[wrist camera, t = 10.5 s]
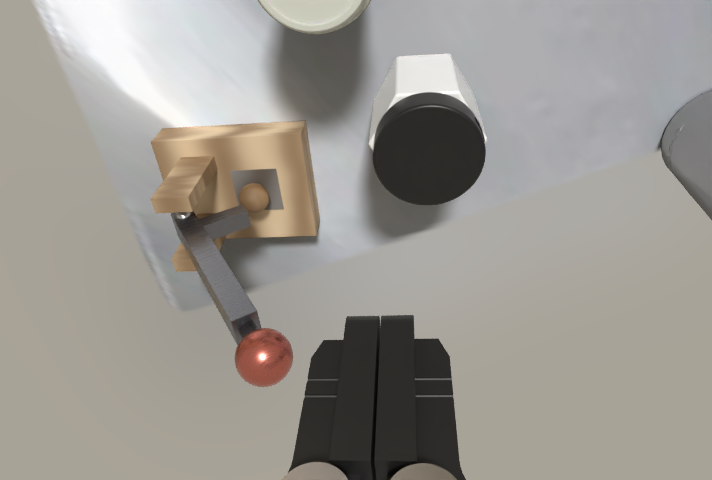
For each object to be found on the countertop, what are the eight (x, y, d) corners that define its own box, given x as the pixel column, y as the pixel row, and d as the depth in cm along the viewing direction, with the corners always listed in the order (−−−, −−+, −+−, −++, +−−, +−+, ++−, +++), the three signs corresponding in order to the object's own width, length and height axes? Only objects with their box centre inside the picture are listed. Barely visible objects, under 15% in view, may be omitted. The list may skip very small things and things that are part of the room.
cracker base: (305, 120, 51) (285, 174, 43) (320, 219, 57) (305, 283, 49) (162, 128, 53) (115, 181, 44) (191, 223, 59) (156, 286, 50)
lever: (232, 183, 49) (343, 317, 34) (242, 222, 52) (350, 364, 36) (157, 207, 47) (239, 364, 31) (171, 247, 49) (253, 411, 34)
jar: (437, 157, 52) (445, 226, 43) (361, 120, 51) (351, 183, 41) (490, 74, 48) (513, 131, 38) (408, 31, 46) (409, 78, 36)
